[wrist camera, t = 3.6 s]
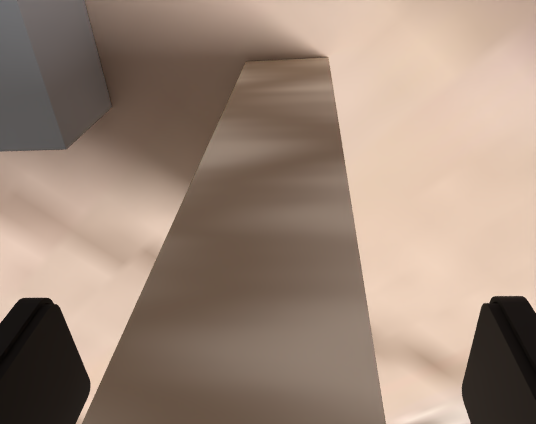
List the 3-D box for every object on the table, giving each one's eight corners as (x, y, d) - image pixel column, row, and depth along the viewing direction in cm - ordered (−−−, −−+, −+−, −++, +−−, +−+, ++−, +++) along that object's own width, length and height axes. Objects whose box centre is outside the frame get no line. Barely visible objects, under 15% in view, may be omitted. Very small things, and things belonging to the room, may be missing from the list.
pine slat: (328, 57, 16) (429, 708, 3) (327, 219, 20) (368, 833, 6) (245, 61, 16) (-30, 666, 3) (260, 220, 20) (165, 808, 7)
